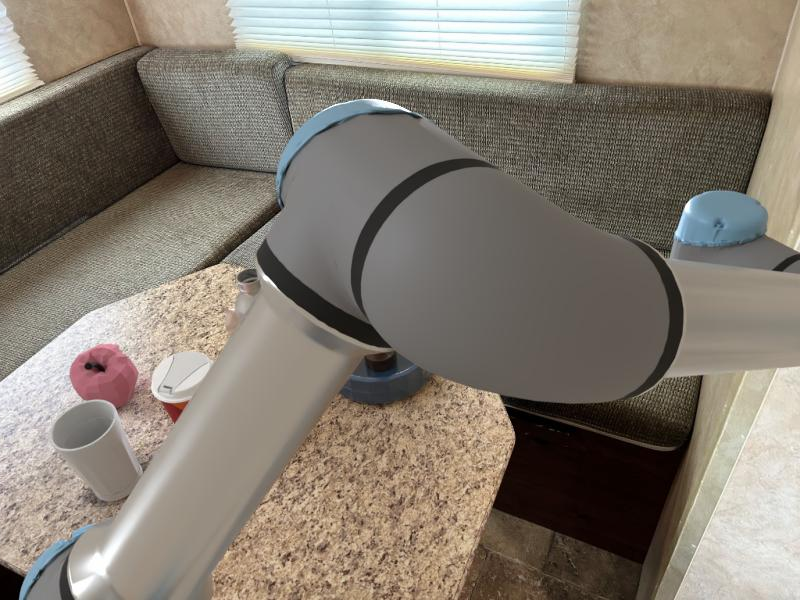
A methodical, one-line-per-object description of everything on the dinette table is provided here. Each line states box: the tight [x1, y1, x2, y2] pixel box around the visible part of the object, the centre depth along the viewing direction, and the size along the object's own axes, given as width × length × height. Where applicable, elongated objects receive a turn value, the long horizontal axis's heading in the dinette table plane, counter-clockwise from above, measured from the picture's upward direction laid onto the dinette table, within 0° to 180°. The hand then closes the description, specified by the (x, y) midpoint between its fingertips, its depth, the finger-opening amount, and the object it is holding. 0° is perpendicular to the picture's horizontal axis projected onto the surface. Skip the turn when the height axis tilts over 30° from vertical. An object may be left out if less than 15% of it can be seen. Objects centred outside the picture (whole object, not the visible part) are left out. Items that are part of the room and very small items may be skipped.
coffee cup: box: [150, 350, 214, 425], centre depth 81 cm, size 8×8×15 cm
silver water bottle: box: [234, 267, 261, 321], centre depth 89 cm, size 6×7×20 cm
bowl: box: [338, 352, 434, 405], centre depth 94 cm, size 18×18×6 cm
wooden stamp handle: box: [364, 350, 397, 372], centre depth 90 cm, size 5×5×16 cm
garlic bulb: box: [220, 305, 240, 337], centre depth 100 cm, size 7×6×8 cm
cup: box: [48, 400, 144, 502], centre depth 78 cm, size 8×8×12 cm
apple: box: [68, 343, 140, 409], centre depth 91 cm, size 10×9×10 cm
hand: (432, 272), depth 79 cm, fingers open, 13 cm apart
